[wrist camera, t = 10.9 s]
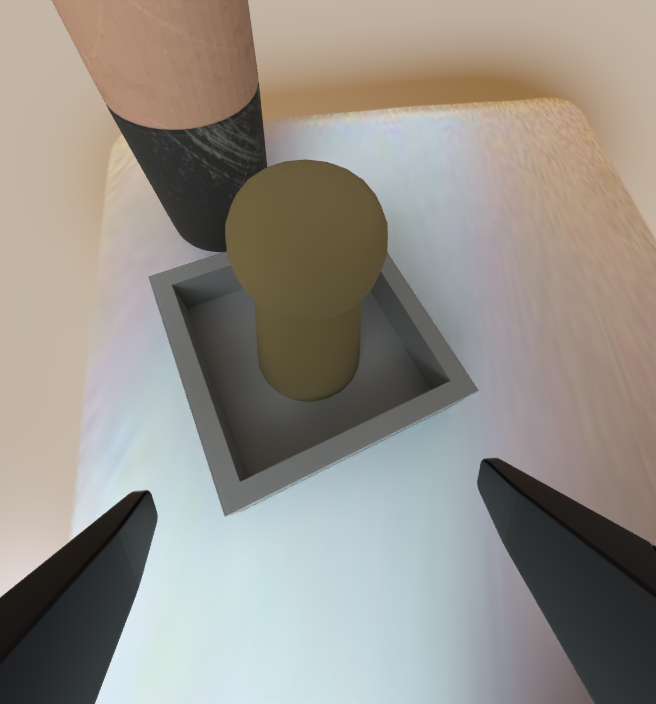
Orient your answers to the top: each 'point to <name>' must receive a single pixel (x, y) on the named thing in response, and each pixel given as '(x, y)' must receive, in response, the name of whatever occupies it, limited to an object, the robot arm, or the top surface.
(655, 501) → the top surface
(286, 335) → the cork
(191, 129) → the travel mug
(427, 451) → the top surface
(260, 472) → the gray square tray
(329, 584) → the top surface
